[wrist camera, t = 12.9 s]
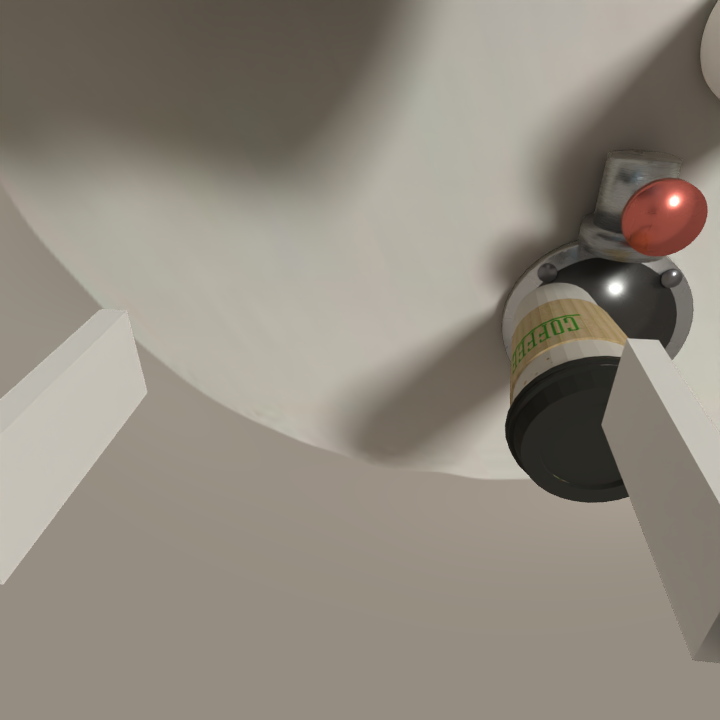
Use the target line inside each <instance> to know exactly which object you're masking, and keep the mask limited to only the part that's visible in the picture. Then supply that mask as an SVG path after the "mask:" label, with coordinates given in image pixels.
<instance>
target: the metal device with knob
mask: <svg viewBox="0 0 720 720" xmlns="http://www.w3.org/2000/svg"><path fill="white" fill-rule="evenodd" d="M682 162H683V160H682V159H681V158H679V157H677V156H674V155H670V154H666V153H661V152H654V151H644V150H619V151H613V152H610V153H608V155H607V160H606V164H605V168H604V173H603V177H602V182H601V186H600V191H599V195H598V200H597V204H596V209H595V213H591V214H588V215H586V216H584V217H583V219H582V223H581V227H580V232H579V237H578V241H574V242H571V243H568V244H566V245H563V246H561V247H559V248H557V249H555V250H553V251H551V252H549V253H548V254H546V255H545V256H543V257H542V258H540V259H539V260H538V261H536V262H535V263H534V264H533V265H532V266H530V267H529V268H528V269H527V270H526V271H525V273H524V274H523V275H522V276H521V277H520V278H519V280H518V281H517V282H516V284H515V285H514V287H513V289H512V290H511V292H510V294H509V296H508V299H507V301H506V304H505V307H504V311H503V316H502V336H503V341H504V346H505V350H506V353H507V355H508V358H509V360H510V362H511V343H512V338H513V334H514V315H515V311H516V309H517V307H518V305H519V303H520V302H521V301H522V299H523V298H524V297H525V296H526V295H527V294H529V293H530V292H532V291H533V290H534V289H536V288H539V287H541V286H543V285H547V284H551V283H569V284H572V285H576V286H578V287H580V288H582V289H583V290H585V291H586V292H587V293H588V294H589V295H590V296H591V297H592V299H593V300H594V301H595V302H596V303H597V305H598V306H599V307H601V308H602V309H603V310H604V311H606V312H607V313H608V315H609V316H610V317H611V318H612V319H613V320H614V322H615V323H616V324H617V325H618V326H619V327H620V329H621V330H622V331H623V332H624V333H625V335H626V336H627V337H628V338H630V339H648V340H659V341H660V343H661V345H662V346H663V348H664V349H665V351H666V352H667V354H668V355H669V357H670V358H671V360H673V359H674V357H675V356H676V355H677V354H678V352H679V351H680V349H681V347H682V346H683V344H684V343H685V340H686V338H687V336H688V334H689V331H690V327H691V324H692V318H693V298H692V294H691V289H690V287H689V285H688V282H687V280H686V278H685V277H684V275H683V273H682V272H681V270H680V269H679V268H678V267H677V266H676V265H675V264H674V263H673V262H672V261H671V259H670V258H669V257H668V256H666V255H670V254H673V253H676V252H678V251H680V250H682V249H683V248H685V247H686V246H688V245H689V244H690V243H691V242H692V241H693V240H694V239H695V238H696V237H697V236H698V235H699V233H700V232H701V230H702V229H703V227H704V224H705V222H706V218H707V203H706V200H705V197H704V196H703V194H702V193H701V192H700V190H698V189H697V188H696V187H695V186H693V185H692V184H690V183H689V182H687V181H685V180H682V179H679V178H678V175H679V172H680V168H681V165H682Z"/></svg>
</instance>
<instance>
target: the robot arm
mask: <svg viewBox="0 0 720 720" xmlns="http://www.w3.org/2000/svg"><path fill="white" fill-rule="evenodd" d="M146 394H147V389H146V385H145V381H144V377H143V373H142V369H141V365H140V361H139V357H138V353H137V349H136V345H135V341H134V337H133V333H132V329H131V325H130V321H129V317H128V313H127V311H124V310H106V309H100V310H99V311H98V312H97V313H96V314H95V315H93V316H92V317H91V318H90V319H89V320H88V321H87V322H86V323H85V324H83V325H82V326H81V327H80V328H79V329H78V330H77V331H76V332H75V333H73V334H72V335H71V336H70V337H69V338H68V339H67V340H66V341H65V342H64V343H62V344H61V345H60V346H59V347H58V348H57V349H56V350H54V351H53V352H52V353H51V354H50V355H49V356H48V357H47V358H46V359H45V360H44V361H42V362H41V363H40V364H39V365H38V366H37V367H36V368H35V369H33V370H32V371H31V372H30V373H29V374H28V375H27V376H26V377H24V378H23V379H22V380H21V381H20V382H19V383H18V384H17V385H15V387H13V388H12V389H11V390H10V391H9V392H8V393H7V394H5V395H4V396H3V397H2V398H1V399H0V584H4V583H5V582H6V580H7V579H8V578H9V576H10V575H11V574H12V572H13V571H14V570H15V568H16V567H17V566H18V564H19V563H20V562H21V560H22V559H23V557H24V556H25V555H26V554H27V552H28V551H29V550H30V548H31V547H32V546H33V544H34V543H35V542H36V540H37V539H38V538H39V536H40V535H41V533H42V532H43V531H44V530H45V528H46V527H47V526H48V524H49V523H50V522H51V520H52V519H53V518H54V516H55V515H56V514H57V512H58V511H59V510H60V508H61V507H62V506H63V504H64V503H65V502H66V500H67V499H68V498H69V497H70V495H71V494H72V493H73V491H74V490H75V488H76V487H77V486H78V485H79V483H80V482H81V481H82V479H83V478H84V477H85V475H86V474H87V473H88V471H89V470H90V469H91V467H92V466H93V465H94V463H95V462H96V461H97V459H98V458H99V457H100V455H101V454H102V453H103V451H104V450H105V449H106V447H107V446H108V445H109V443H110V442H111V441H112V439H113V438H114V437H115V435H116V434H117V433H118V431H119V430H120V429H121V427H122V426H123V425H124V423H125V422H126V421H127V419H128V418H129V417H130V415H131V414H132V413H133V411H134V410H135V409H136V407H137V406H138V405H139V403H140V402H141V401H142V399H143V398H144V397H145V395H146ZM601 425H602V428H603V430H604V433H605V435H606V438H607V441H608V443H609V446H610V448H611V451H612V453H613V456H614V459H615V461H616V464H617V466H618V469H619V472H620V474H621V477H622V479H623V482H624V485H625V487H626V490H627V492H628V495H629V497H630V500H631V503H632V505H633V508H634V510H635V513H636V516H637V518H638V521H639V523H640V526H641V528H642V531H643V534H644V536H645V539H646V541H647V544H648V547H649V549H650V552H651V554H652V557H653V559H654V562H655V565H656V567H657V570H658V572H659V575H660V578H661V580H662V583H663V585H664V588H665V590H666V593H667V596H668V598H669V601H670V603H671V606H672V609H673V611H674V613H675V616H676V619H677V621H678V624H679V627H680V629H681V632H682V634H683V637H684V640H685V642H686V645H687V647H688V650H689V652H690V655H691V658H692V660H695V661H705V662H714V663H720V433H719V431H718V430H717V428H716V427H715V425H714V424H713V422H712V421H711V419H710V418H709V416H708V415H707V413H706V412H705V410H704V409H703V407H702V406H701V404H700V402H699V401H698V399H697V398H696V396H695V395H694V393H693V392H692V390H691V389H690V387H689V386H688V384H687V383H686V381H685V380H684V378H683V377H682V375H681V374H680V372H679V370H678V369H677V367H676V366H675V364H674V363H673V361H672V360H671V358H670V357H669V355H668V354H667V352H666V351H665V349H664V348H663V346H662V345H661V343H660V341H659V340H648V339H630V338H626V342H625V345H624V349H623V352H622V356H621V359H620V362H619V366H618V369H617V373H616V376H615V380H614V383H613V387H612V390H611V393H610V397H609V400H608V404H607V407H606V411H605V414H604V418H603V421H602V424H601Z"/></svg>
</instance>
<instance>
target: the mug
mask: <svg viewBox="0 0 720 720" xmlns="http://www.w3.org/2000/svg"><path fill="white" fill-rule="evenodd" d="M700 60H701V68H702V72H703V76H704V78H705V81H706V83H707V85H708V86H709V88H710V89H711V91H712V92H713V93H714V94H715V95H716V96H717V97H718V98H719V99H720V0H718V1H717V3H716V5H715V6H714V8H713V10H712V12H711V14H710V16H709V18H708V21H707V23H706V26H705V29H704V33H703V36H702V42H701V48H700Z"/></svg>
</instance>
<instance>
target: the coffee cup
mask: <svg viewBox="0 0 720 720" xmlns="http://www.w3.org/2000/svg"><path fill="white" fill-rule="evenodd" d="M626 338H628V337H627V336H626V335H625V333H624V332H623V331H622V330H621V329H620V327H619V326H618V325H617V324H616V323H615V322H614V320H613V319H612V318H611V317H610V316H609V315H608V313H607V312H606V311H604V310H603V309H602V308H601V307H599V306H598V305H597V303H596V302H595V301H594V300H593V299H592V297H591V296H590V295H589V294H588V293H587V292H586V291H585V290H583V289H582V288H580V287H578V286H576V285H572V284H569V283H551V284H547V285H543V286H541V287H539V288H536V289H534V290H533V291H532V292H530V293H529V294H527V295H526V296H525V297H524V298H523V299H522V301H521V302H520V303H519V305H518V307H517V309H516V311H515V315H514V334H513V338H512V343H511V377H510V409H509V411H508V414H507V419H506V423H505V433H506V440H507V443H508V446H509V449H510V451H511V454H512V455H513V457H514V459H515V460H516V462H517V463H518V465H519V466H520V467H521V468H522V469H523V470H524V471H525V472H526V473H527V474H528V475H529V476H530V478H531V479H532V480H533V481H534V482H535V483H536V484H537V485H538V486H540V487H541V488H543V489H544V490H546V491H547V492H549V493H551V494H554V495H556V496H559V497H561V498H564V499H568V500H572V501H579V502H588V503H589V502H607V501H614V500H619V499H622V498H626V497H629V495H628V492H627V490H626V487H625V485H624V482H623V479H622V477H621V474H620V472H619V469H618V466H617V464H616V461H615V459H614V456H613V453H612V451H611V448H610V446H609V443H608V441H607V438H606V435H605V433H604V430H603V428H602V425H601V424H602V421H603V418H604V414H605V411H606V407H607V404H608V400H609V397H610V393H611V390H612V387H613V383H614V380H615V376H616V373H617V369H618V366H619V362H620V359H621V356H622V352H623V349H624V345H625V342H626Z"/></svg>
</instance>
